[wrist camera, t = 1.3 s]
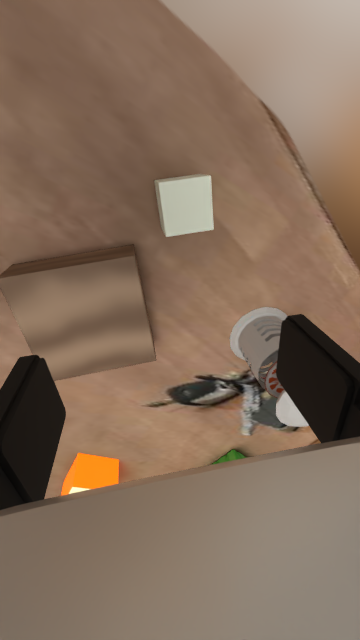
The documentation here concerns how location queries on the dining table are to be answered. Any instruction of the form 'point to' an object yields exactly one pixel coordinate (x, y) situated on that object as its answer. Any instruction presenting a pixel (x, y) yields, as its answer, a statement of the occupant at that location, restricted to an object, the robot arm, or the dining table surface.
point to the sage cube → (185, 204)
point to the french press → (265, 356)
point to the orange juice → (90, 473)
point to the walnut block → (82, 311)
